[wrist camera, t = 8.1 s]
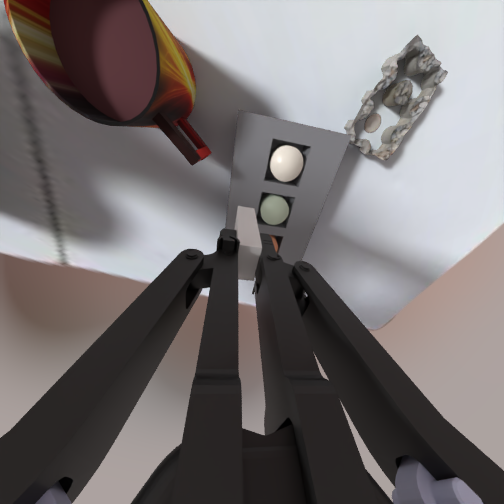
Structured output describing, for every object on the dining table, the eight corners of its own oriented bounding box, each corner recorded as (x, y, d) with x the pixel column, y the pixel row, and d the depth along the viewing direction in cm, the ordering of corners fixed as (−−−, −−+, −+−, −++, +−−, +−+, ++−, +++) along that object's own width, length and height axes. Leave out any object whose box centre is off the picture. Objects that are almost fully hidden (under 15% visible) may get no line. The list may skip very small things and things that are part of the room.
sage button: (257, 214, 31) (258, 222, 28) (262, 189, 28) (264, 195, 26) (281, 218, 31) (284, 226, 29) (287, 194, 29) (292, 200, 26)
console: (224, 248, 37) (221, 263, 32) (239, 113, 25) (238, 109, 21) (290, 257, 38) (296, 272, 34) (334, 134, 27) (351, 135, 22)
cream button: (265, 174, 27) (267, 178, 25) (272, 141, 25) (275, 142, 22) (292, 179, 28) (297, 184, 25) (301, 147, 26) (307, 149, 23)
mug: (210, 157, 28) (191, 172, 18) (110, 102, 24) (13, 81, 14) (238, 82, 23) (234, 44, 13) (119, -2, 19) (-17, -148, 9)
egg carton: (368, 161, 29) (384, 165, 26) (333, 133, 27) (346, 134, 23) (432, 82, 24) (463, 74, 21) (396, 40, 22) (424, 23, 18)
